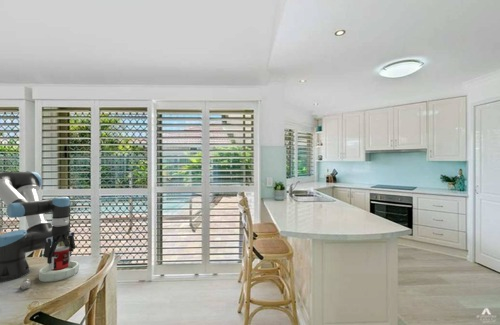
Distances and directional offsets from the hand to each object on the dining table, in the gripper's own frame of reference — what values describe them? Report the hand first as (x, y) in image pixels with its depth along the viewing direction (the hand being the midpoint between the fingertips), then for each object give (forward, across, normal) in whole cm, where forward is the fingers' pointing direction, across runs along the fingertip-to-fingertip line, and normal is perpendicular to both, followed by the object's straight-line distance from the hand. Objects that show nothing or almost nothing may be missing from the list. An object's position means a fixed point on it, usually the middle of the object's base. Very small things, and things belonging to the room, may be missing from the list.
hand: (59, 265), depth 131 cm
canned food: (+1, 0, 0) cm, 1 cm away
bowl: (+5, 0, 0) cm, 5 cm away
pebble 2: (+5, -16, -1) cm, 17 cm away
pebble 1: (+5, -14, +2) cm, 15 cm away
